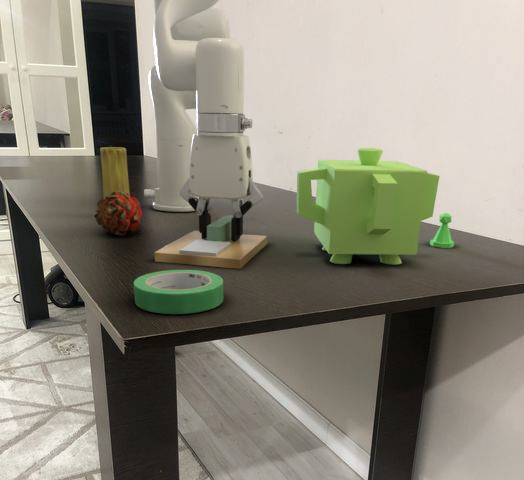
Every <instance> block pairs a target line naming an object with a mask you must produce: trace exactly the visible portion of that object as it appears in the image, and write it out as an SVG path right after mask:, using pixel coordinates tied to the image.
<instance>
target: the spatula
mask: <svg viewBox="0 0 524 480" xmlns="http://www.w3.org/2000/svg"><path fill="white" fill-rule="evenodd" d="M233 217H234V215H232V214H231V215H230V214H226V215H224V216H222V217H220V218H219V219H217V220H215V221H213V222H211V224H210V225H208V226H207V240H195V241H194V242H192V243H190V244H189V245H187V246H185V247H184V248H182V249H180V250H179V253H180V254H189V255H201V256H213V257H216V256H218V255H219V254H220V253H222V252H223V251H224V250H226V249H227V248H228V247H230V246H231V242H225V241H227V240H228V239H229V238H231V219H232V218H233Z"/></svg>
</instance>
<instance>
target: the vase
mask: <svg viewBox="0 0 524 480" xmlns="http://www.w3.org/2000/svg"><path fill="white" fill-rule="evenodd" d="M99 152H100V161H101V174H102V176H101V177H102V193H103V194H102V195H103V196H102V197H103V199H105V197H106V196H107V195H109V194H111V193H112V192H118V191H122V192H126V193H128V194H129V197H131V194H130V181H129V180H130V179H129V172H128V156H127V149H126V148H125V147H119V146H118V147H117V146H116V147H115V146H113V147H112V146H110V147H109V146H107V147H106V146H105V147H100V148H99Z"/></svg>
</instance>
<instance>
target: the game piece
mask: <svg viewBox="0 0 524 480" xmlns="http://www.w3.org/2000/svg"><path fill="white" fill-rule="evenodd" d="M452 218H453V217H452V214H449V213H448V212H444V213H442V214H439V217H438V219H439V220H438V221H439V223H441V224H440V225H439V228H438V230H437V231H436V233H435V235H434V237H433V238H432V239H430V240H429V245H430V246H431V247H435V248H440V249H451V248H453V247H455V241H453V240H452V236H451V232H450V227H449V224H450V223H452Z"/></svg>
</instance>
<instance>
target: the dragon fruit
mask: <svg viewBox="0 0 524 480" xmlns="http://www.w3.org/2000/svg"><path fill="white" fill-rule="evenodd" d="M96 206H97V207H96V210H95V213H94V218H95V221H96V224H97V225H99V226H101V227H102V229H103V230H105V231H106V232H107V233H109V234H113V235H116V236H125V235H126V234H127V233H128V232H131V233H134V232H138V231H139V230H140V228H141V220H142V218H143V210H142V207H141V203H140V202H139V200H138V199H137V198H136V197H135V196H130V197H129V194H128V193H126V192H122V191H118V192H112V193H111V194H109V195H107V196H106V197H105V199H104V198H102V199H99V200H98V201H97V202H96Z"/></svg>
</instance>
